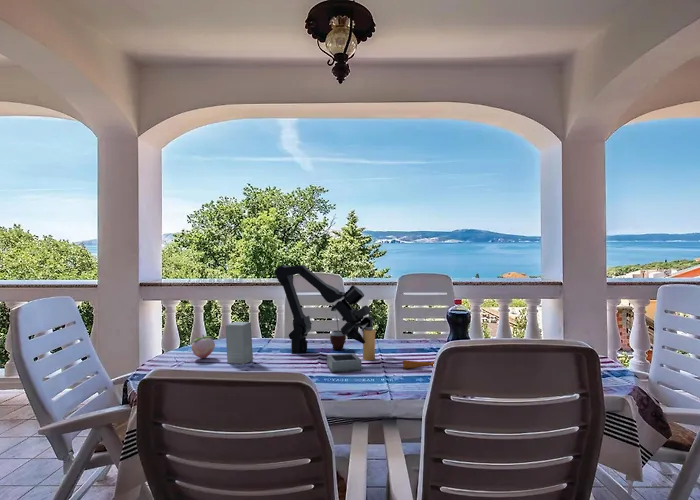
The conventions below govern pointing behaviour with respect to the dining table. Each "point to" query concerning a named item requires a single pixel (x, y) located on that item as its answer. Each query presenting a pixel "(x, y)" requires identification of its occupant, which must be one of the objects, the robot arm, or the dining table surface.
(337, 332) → the mate gourd
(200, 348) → the decorative fruit
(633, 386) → the dining table surface
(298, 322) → the robot arm
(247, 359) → the skincare box
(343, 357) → the gray square dish
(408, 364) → the kendama
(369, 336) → the tan cylinder
